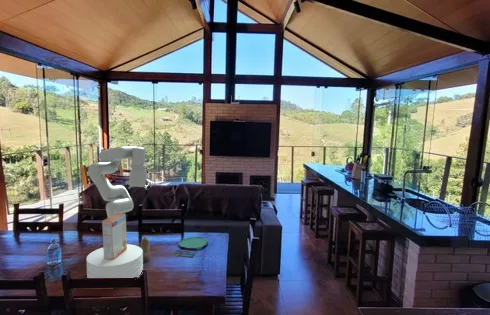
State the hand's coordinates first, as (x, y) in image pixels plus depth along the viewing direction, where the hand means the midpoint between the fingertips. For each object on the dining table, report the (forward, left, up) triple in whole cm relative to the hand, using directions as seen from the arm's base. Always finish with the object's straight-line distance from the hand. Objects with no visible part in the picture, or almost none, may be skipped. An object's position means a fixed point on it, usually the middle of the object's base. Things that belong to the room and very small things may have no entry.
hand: (139, 195), depth 184 cm
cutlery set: (+26, +19, -39) cm, 51 cm away
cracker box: (-2, -23, -28) cm, 36 cm away
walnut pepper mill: (+6, -4, -38) cm, 39 cm away
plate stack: (-2, -23, -39) cm, 45 cm away
